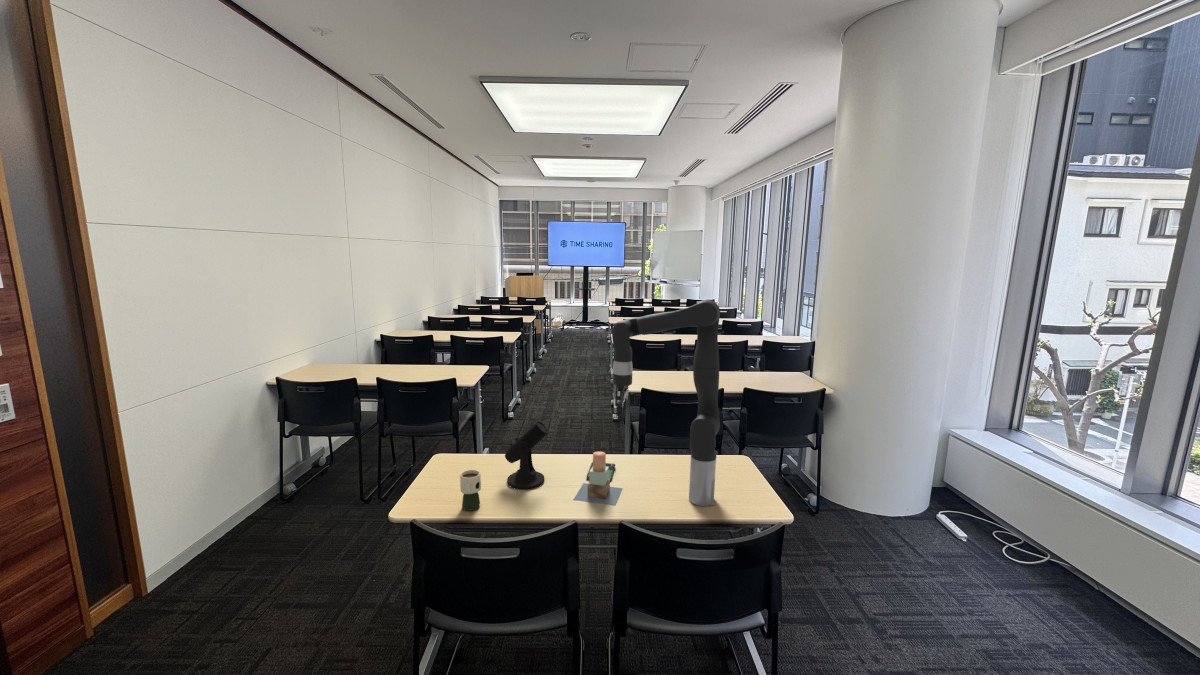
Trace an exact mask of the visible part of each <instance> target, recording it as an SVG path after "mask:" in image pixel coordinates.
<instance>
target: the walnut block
mask: <svg viewBox="0 0 1200 675" xmlns="http://www.w3.org/2000/svg"><path fill="white" fill-rule="evenodd" d="M587 484H588V495H587V497H592V498H599V499H606V498H607V496H608V493H609V491H610V487H611V482H610V479H609V478H608V481H607V483H606V485H605V486H601V485H593V484H589V482H588V483H587Z"/></svg>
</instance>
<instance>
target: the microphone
mask: <svg viewBox="0 0 1200 675" xmlns="http://www.w3.org/2000/svg"><path fill="white" fill-rule="evenodd" d="M548 434H549V432H548V429H547V427H546V426H545V424H543V423H542V422H540V421H535V423H533V425H531V426H530V427H529V428H528V429H527V430H526V431H525V432H524V433H523V434H522V435H520V436H519V437H515V438H514V440H515V441H514V442H510V443H509V447H508V449H507V450H506V452H505V454H504V457H505V459H506V461H507V462H508V463H510V464H513V463H516V462H518V461H519V469H517V470H516V471H515V472H512V473H511V474H510V475H508V477H507V479H506V483H507V486H509V487H510V486H511V487H510V488H511V489H514V488H515V489H514V490H518V489H519V490H520V491H521V490H522V491H526V490H527V491H528V490H534V489H536V488H537V489H538V488H539V487H541V486H543V485H544V483H545V476H544V474H543V473H541V472H539V471H537V470H536V469H535V467H534V464H533V458H532V457H533V456H532V450H533V448H534V447H535V446H536V445H537V444H539V443H540V441H542V440H543V439H544V438H545V437H546V436H547V435H548ZM519 490H518V491H519Z"/></svg>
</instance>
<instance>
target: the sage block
mask: <svg viewBox="0 0 1200 675" xmlns="http://www.w3.org/2000/svg"><path fill="white" fill-rule="evenodd" d="M588 472H589V480H588V483H589V484H593V485H601V486H605V485H606V483H607V481H608V476H609V467H607V466H605V471H602V472H596V471H594V470H593V467H592V468H591V470H590V471H589V470H588Z"/></svg>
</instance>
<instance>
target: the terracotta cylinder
mask: <svg viewBox="0 0 1200 675" xmlns="http://www.w3.org/2000/svg"><path fill="white" fill-rule="evenodd" d="M606 459H607V458H606V452H604V451H594V452H593V453H592V462H593V470H594V471H596V472H602V471H605V465H606V463H607V461H606Z"/></svg>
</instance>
